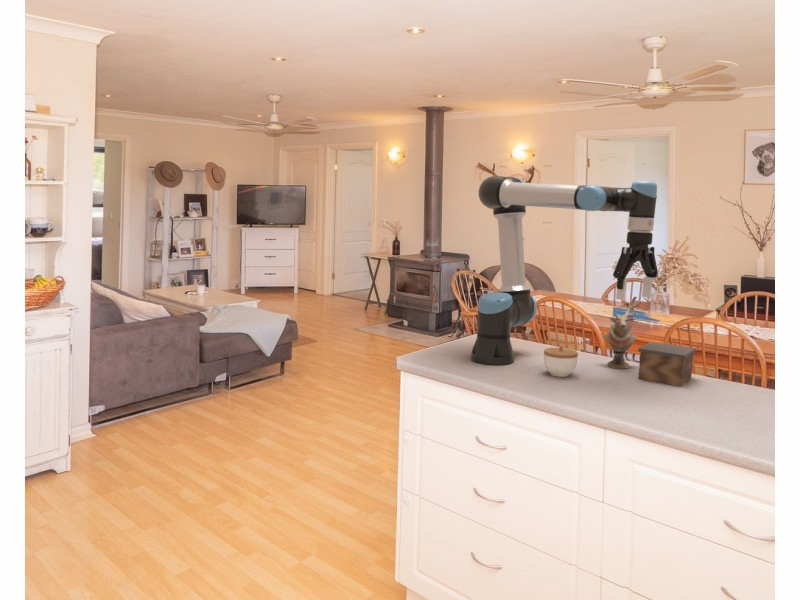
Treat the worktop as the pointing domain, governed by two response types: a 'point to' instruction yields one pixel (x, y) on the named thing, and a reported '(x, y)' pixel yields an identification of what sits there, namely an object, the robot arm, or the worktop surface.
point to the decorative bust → (621, 336)
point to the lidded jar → (560, 361)
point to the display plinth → (666, 363)
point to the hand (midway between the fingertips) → (633, 298)
